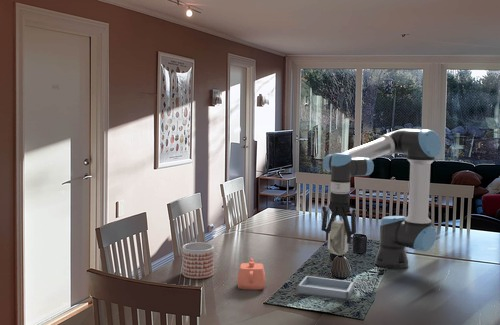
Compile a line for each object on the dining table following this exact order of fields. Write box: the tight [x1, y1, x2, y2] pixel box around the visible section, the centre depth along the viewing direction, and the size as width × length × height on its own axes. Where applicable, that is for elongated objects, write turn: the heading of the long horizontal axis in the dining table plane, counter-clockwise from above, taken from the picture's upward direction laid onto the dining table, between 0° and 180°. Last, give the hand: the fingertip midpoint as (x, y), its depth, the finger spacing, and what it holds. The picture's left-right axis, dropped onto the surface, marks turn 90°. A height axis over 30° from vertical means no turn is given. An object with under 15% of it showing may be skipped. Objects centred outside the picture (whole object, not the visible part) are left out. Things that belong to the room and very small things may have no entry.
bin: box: [297, 275, 355, 301], centre depth 205 cm, size 13×20×3 cm, turn 69°
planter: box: [181, 241, 215, 280], centre depth 224 cm, size 14×14×13 cm
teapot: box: [237, 257, 266, 291], centre depth 210 cm, size 12×18×10 cm, turn 178°
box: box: [329, 219, 347, 256], centre depth 202 cm, size 5×4×13 cm
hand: (337, 249), depth 203 cm, fingers closed on box, 6 cm apart
